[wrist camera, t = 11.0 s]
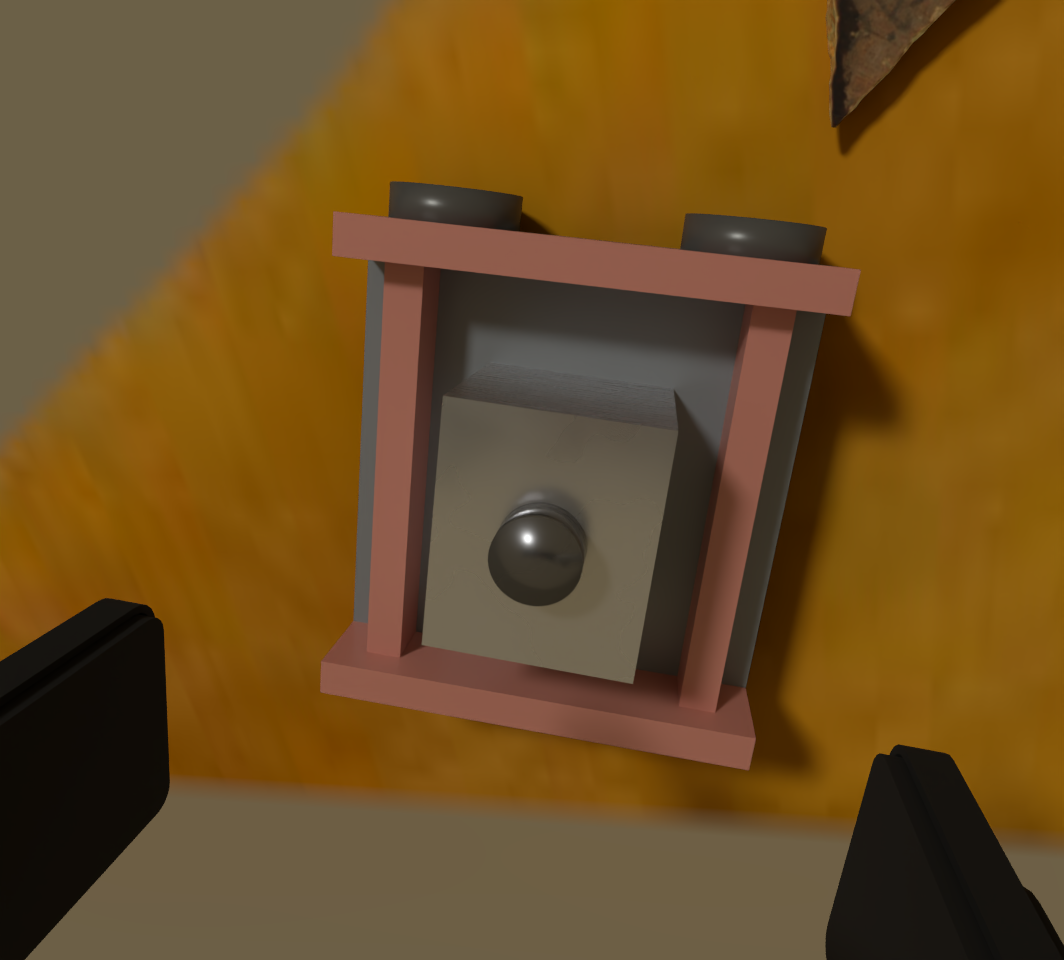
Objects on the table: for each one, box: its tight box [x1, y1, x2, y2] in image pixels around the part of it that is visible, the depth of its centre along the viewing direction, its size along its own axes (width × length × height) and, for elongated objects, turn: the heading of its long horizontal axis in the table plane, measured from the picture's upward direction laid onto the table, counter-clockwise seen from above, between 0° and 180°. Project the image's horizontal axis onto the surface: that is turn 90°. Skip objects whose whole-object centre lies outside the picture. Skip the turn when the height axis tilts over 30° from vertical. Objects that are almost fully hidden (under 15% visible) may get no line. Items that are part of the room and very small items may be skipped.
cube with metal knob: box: [422, 362, 678, 684], centre depth 19 cm, size 5×6×6 cm
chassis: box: [320, 182, 861, 770], centre depth 22 cm, size 12×15×6 cm
